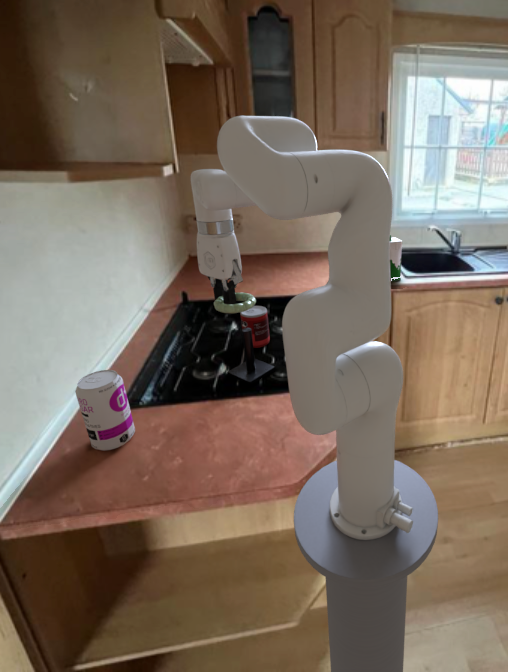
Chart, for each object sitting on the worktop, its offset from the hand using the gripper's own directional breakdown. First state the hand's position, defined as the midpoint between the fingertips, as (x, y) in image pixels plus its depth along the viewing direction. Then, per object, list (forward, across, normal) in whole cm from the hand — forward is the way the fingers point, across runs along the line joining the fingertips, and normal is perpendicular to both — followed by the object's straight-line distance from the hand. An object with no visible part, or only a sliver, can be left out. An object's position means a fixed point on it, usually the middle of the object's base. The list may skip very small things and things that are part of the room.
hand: (225, 302), depth 98 cm
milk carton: (+24, -8, +94) cm, 98 cm away
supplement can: (+24, -7, -27) cm, 37 cm away
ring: (-1, +3, 0) cm, 4 cm away
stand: (+24, -2, +7) cm, 25 cm away
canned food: (+24, -14, +20) cm, 34 cm away
